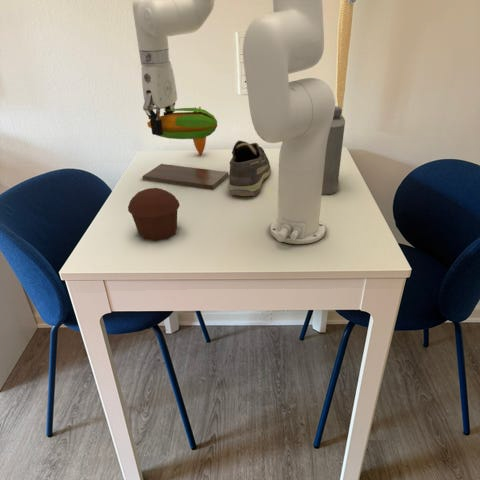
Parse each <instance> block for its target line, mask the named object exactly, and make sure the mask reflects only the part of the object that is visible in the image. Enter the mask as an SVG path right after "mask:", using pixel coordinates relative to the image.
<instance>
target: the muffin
mask: <svg viewBox="0 0 480 480" xmlns="http://www.w3.org/2000/svg"><path fill="white" fill-rule="evenodd" d="M180 206H181V204H180V201H179V200H178V198H177V197H176V196H175V194H173V193H171V192H169V191H168V190H165V189H162V188H158V187H149V188H145V189H142V190H140V191H138V192H137V193H136V194H134V196H132V197H131V199H130V201H129V203H128V206H127V211H128V212H129V213H130V215H131V217H132V219H133V222H134V225H135V227H136V230H137V233H138V235H139V236H140V237H141V238H142V239H143V240H146V241H153V242H158V241H162V240H163V241H164V240H168V239H170V238H171V237H173V236H175V235H176V232H177V230H178V209H179V208H180Z"/></svg>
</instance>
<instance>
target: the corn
mask: <svg viewBox="0 0 480 480" xmlns="http://www.w3.org/2000/svg"><path fill="white" fill-rule="evenodd" d="M165 111H175V112H173V113H172V114H168V115H164V114H162V115H160V119H161V122H162V129H163V135H156V137H157V136H158V137H161V138H165V139H172V140H173V139H174V140H193V139H203V138H205V137H206V138H207V137H209V136H211V135H212V134H213V133H214V132H215V131H216V130H217V128H218V120H217V118H216V117H215V116H214V115H213V114H212V113H210V112H209V111H207V110H206V109H203V108H201V109H199V107H196V108H194V107H182V108H181V107H180V108H175V109H171V110H164V112H165ZM194 111H196V112H194ZM147 127H148V128H150V129H151V123H150V120H148V122H147Z"/></svg>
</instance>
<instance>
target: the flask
mask: <svg viewBox="0 0 480 480" xmlns="http://www.w3.org/2000/svg"><path fill="white" fill-rule="evenodd" d="M342 113H343V109H342V107H341V106H337V105H335V110H334V116H333V120H332V124H331V128H330V131H329V136H328V141H327V147H326V155H325V165H324V174H323V185H322V195H333V194H335V193H337V191H338V185H339V177H340V170H341V160H342V151H343V145H344V144H343V142H344V134H345V128H346V127H345V125H346V119H345V117H344V116H343V115H342Z"/></svg>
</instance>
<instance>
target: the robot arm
mask: <svg viewBox="0 0 480 480" xmlns="http://www.w3.org/2000/svg"><path fill="white" fill-rule="evenodd" d="M215 1H216V0H133V2H132V14H133V19H134V26H135V32H136V33H135V34H136V40H137V47H138V54H139V61H140V66H141V85H142V87H141V88H142V94H143V100H144V103H143V105H142V109H143V111H144V113H145V114H146V115H147V117H148V121H150V123H151V128H150V129H151V134H152V135H154V136H157V135H163V129H162V122H161V119H160V116H161V110H164V112H163V115H168V114H172V113H176V111H165V110H171V109H176V108H175V106H176V102H177V100H178V91H177V85H176V79H175V74H174V70H173V65H172V63H171V58H170V57H171V55H170V48H169V40H168V37H174V36H181V35H189V34H193V33H196V32H197V31H198V30H200V29H201V27H202V26H203V25H204V24H205V22H206V21H207V19H208V18H209V17H210V15H211V13H212V12H213V9H214V6H215ZM272 6H273V7H272V9H273V10H272V12H268V13H262V14H261V15H259V16H257V17H255V18H254V19H253V20H252V21H251V22H250V23H249V25H248V26H247V28H246V31H245V33H244V37H243V38H244V39H243V43H242V59H243V60H242V62H243V68H244V76H245V84H246V85H245V86H246V91H247V98H248V106H249V113H250V118H251V123H252V126H253V128H254V131H255V133H256V134H257V136H258V137H259V138H260V139H261V140H262V141H264V142H266V143H268V144H278V143H281V144H280V148H279V154H278V155H279V157H278V187H277V218H276V219H275V220H274V221H273V222H272V223H271V224H270V227H269V229H270V234H271V236H272V237H274V238H275V239H276V240H277V241H278V242H281V243H286V244H292V245H305V244H311V243H315V242H318V241H320V240H321V239H323V237H324V236H325V233H326V226H325V224H324V223H323V222H322V221H320V217H321V205H322V195H323V194H322V185H323V174H324V165H325V155H326V147H327V141H328V136H329V131H330V128H331V124H332V120H333V116H334V110H335V106H336V100H335V99H336V98H335V95H334V92H333V90H332V88H331V86H330V85H329V84H328V83H327V82H326V81H324V80H322V79H320V78H318V77H317V78H316V77H306V78H300V79H297V80H292V81H290V80H289V75H290V74H294V73H299V72H303V71H305V70H309V69H311V68H313V67H315V66H316V65H317V64H318V63H319V62H320V61H321V59H322V57H323V54H324V50H325V35H324V34H325V33H324V31H325V30H324V13H323V0H272Z"/></svg>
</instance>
